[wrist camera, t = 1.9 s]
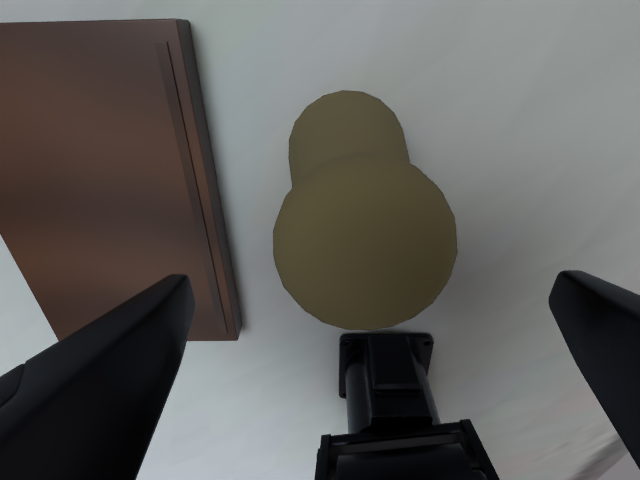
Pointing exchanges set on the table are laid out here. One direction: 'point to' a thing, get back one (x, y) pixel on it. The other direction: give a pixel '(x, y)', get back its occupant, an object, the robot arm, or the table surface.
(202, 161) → the walnut board
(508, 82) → the table surface
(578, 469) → the table surface
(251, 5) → the table surface
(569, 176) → the table surface
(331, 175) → the olive yellow pawn
